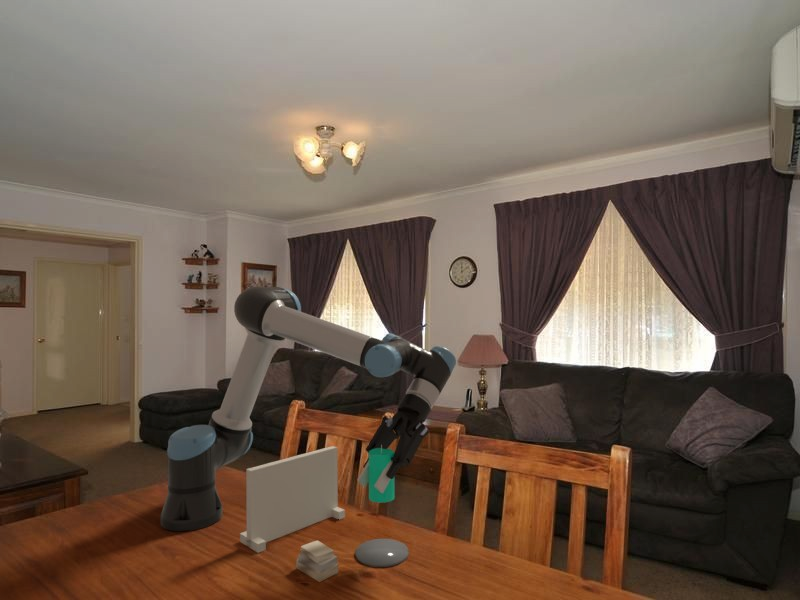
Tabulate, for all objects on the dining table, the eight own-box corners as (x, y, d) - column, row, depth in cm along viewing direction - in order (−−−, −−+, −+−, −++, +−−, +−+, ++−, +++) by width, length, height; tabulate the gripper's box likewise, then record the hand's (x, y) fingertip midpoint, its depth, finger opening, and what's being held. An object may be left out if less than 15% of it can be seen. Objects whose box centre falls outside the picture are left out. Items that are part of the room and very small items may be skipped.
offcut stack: (294, 568, 110) (294, 547, 110) (315, 559, 114) (315, 539, 114) (318, 583, 104) (318, 561, 104) (339, 572, 108) (339, 551, 108)
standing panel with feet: (240, 541, 122) (239, 466, 122) (325, 509, 141) (325, 443, 141) (258, 552, 117) (257, 473, 117) (344, 517, 136) (344, 449, 136)
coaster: (344, 554, 116) (344, 551, 116) (382, 536, 125) (382, 533, 125) (381, 573, 108) (381, 570, 108) (419, 552, 116) (419, 550, 116)
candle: (391, 503, 113) (391, 449, 113) (365, 501, 114) (365, 447, 114) (397, 493, 118) (397, 441, 118) (372, 491, 120) (372, 440, 120)
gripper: (454, 416, 121) (407, 506, 109) (399, 405, 133) (351, 485, 121) (439, 396, 117) (390, 487, 105) (384, 388, 130) (334, 468, 118)
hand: (369, 486), depth 113 cm, fingers closed on candle, 5 cm apart
